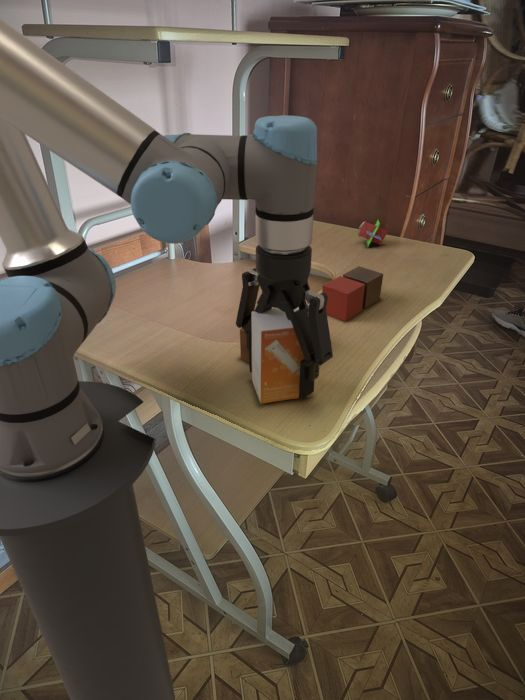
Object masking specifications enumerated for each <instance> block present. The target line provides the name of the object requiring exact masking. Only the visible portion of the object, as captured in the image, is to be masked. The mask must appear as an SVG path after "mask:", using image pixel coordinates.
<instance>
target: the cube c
mask: <svg viewBox="0 0 525 700" xmlns="http://www.w3.org/2000/svg"><path fill="white" fill-rule="evenodd" d="M321 288H322V289H321V293H323V292H324V293H326V294H327V296H328V300H327V306H326V312H327V316H329V317H332V318H334V319H338V320H341V321H343V322H347V321H349V320H350V319H352V318H354V317H356V315H358V314H360V313H361V312H363V308H362V306H363V298H364V289H365V284H363V283H360V282H357V281H354V280H351V279H348V278H345V277H343V275H340V276H337V277H335V278H334V279H331V280H330V281H328V282H326V283H324V284H322V287H321Z"/></svg>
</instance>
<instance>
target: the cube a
mask: <svg viewBox="0 0 525 700" xmlns="http://www.w3.org/2000/svg"><path fill="white" fill-rule="evenodd" d="M239 340H240V341H239V350H240V351H239V352H240V360H241V361H244V362H246V363H248V364H249V351H248V350H247V338H246V334H245V332H244V329H243V328H242V327H241V328H239Z"/></svg>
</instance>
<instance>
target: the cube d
mask: <svg viewBox="0 0 525 700" xmlns="http://www.w3.org/2000/svg"><path fill="white" fill-rule="evenodd" d="M342 277H345V278H348V279H351V280H354V281H357V282H360V283H363V284H365V289H364V298H363V306H362V310H366V309H367V308H369V307H371V306H372V305H374V304H375V303H377V302H378V301H380V300H381V295H382V288H383V281H384V273H383V272H379V271H377V270H373V269H370V268H367V267H363V266H360V265H358V266H357V267H353V269H351V270H349V271H347V272H345V273H343V274H342Z"/></svg>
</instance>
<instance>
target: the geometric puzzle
mask: <svg viewBox="0 0 525 700" xmlns="http://www.w3.org/2000/svg"><path fill="white" fill-rule="evenodd" d="M370 221H372V220H369V221H368V220H365V221H363V222H362V223H361V224H360V225H359V227H358V231H359V232H357V233H358V234H357V237H359V238H360V240H362V241H365V242H366V246H367V247H372V245H371V244H372V243H373V245H375V246H381V245H382V243H383V241H384V240H385V238H386V236H387V234H388V232H389V230H388V229H386V228H384V227H385V225H383V224H382V225H381V222H380V219H379V218H378V219H377V220H376V222H375V224H374V223H373V222H370ZM381 226H382V227H381Z"/></svg>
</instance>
